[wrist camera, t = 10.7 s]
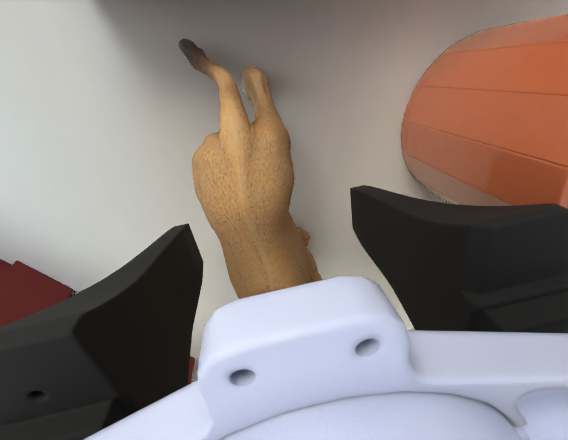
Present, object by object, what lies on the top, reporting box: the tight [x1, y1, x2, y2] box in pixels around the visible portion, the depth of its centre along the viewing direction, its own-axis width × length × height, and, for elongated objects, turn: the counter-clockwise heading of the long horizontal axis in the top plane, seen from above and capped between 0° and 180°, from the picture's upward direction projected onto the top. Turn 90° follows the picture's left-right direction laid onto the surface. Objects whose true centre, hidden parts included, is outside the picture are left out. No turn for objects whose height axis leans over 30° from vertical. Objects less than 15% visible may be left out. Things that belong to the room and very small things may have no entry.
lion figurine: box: [179, 38, 322, 299], centre depth 11 cm, size 15×5×9 cm, turn 23°
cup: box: [401, 14, 568, 209], centre depth 11 cm, size 8×8×8 cm
